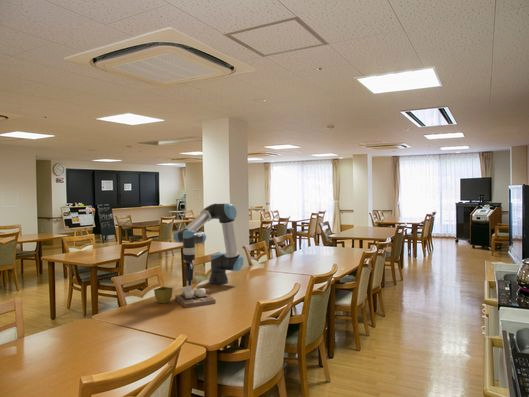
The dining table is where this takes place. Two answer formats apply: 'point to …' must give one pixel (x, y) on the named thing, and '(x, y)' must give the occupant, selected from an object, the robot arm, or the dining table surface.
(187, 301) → the egg tray
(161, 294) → the flower pot
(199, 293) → the white egg
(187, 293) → the cream rounded oval
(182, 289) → the white egg
